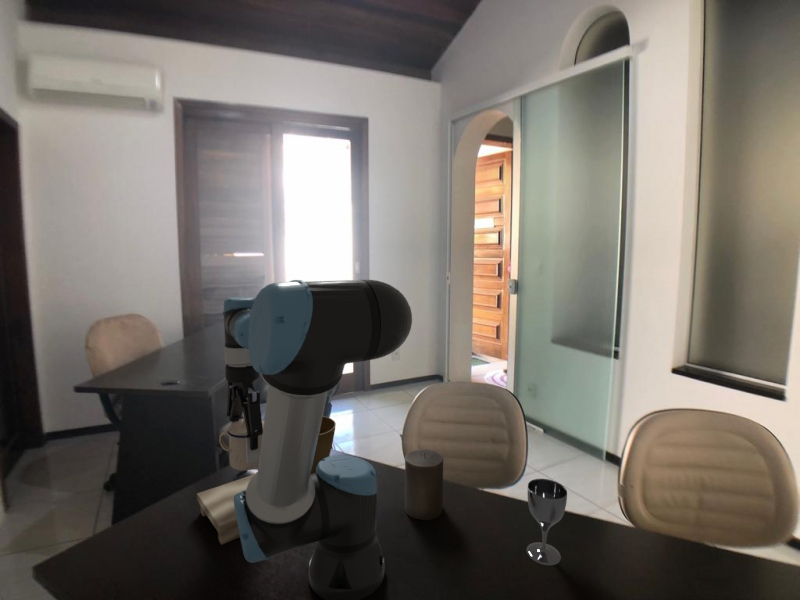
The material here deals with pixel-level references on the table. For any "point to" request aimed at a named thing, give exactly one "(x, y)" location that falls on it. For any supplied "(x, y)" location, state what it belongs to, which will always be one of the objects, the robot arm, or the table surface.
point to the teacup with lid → (239, 446)
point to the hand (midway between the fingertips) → (244, 453)
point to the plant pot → (324, 441)
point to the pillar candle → (423, 484)
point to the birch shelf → (223, 508)
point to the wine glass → (545, 516)
